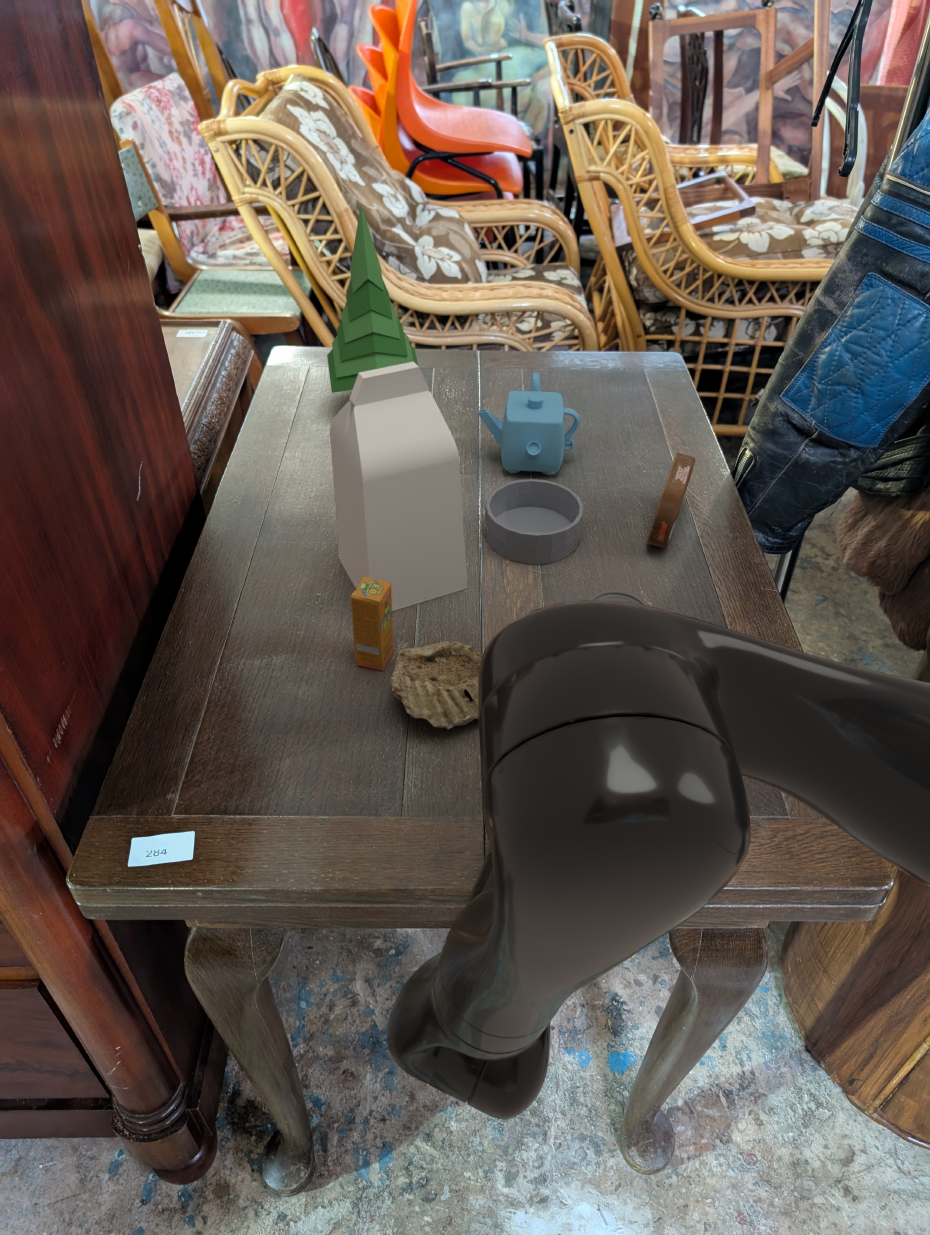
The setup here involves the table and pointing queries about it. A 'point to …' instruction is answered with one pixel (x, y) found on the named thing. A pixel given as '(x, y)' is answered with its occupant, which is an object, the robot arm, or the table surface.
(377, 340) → the decorative tree
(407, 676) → the seashell
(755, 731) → the robot arm
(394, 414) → the milk
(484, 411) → the teapot
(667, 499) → the tin
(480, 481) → the table surface
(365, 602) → the supplement box
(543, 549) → the pan
